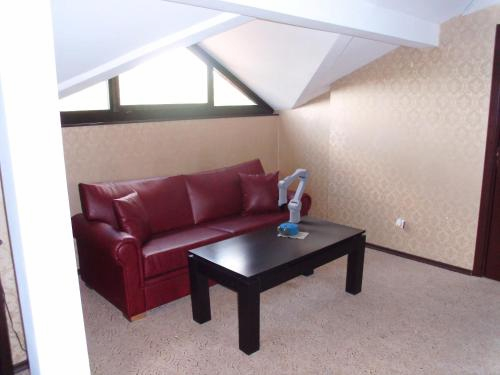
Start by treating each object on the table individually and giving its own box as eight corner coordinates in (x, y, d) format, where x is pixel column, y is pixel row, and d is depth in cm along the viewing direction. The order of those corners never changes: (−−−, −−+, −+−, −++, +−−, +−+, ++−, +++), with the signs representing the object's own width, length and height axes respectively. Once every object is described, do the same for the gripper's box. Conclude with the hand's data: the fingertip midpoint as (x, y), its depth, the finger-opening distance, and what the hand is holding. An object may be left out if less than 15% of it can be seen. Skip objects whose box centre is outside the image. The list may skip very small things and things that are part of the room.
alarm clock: (289, 229, 314) (274, 233, 304) (289, 221, 312) (274, 225, 303) (301, 233, 304) (287, 237, 294) (301, 225, 302) (287, 229, 293)
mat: (283, 230, 312) (283, 230, 312) (309, 233, 304) (309, 233, 303) (277, 236, 299) (277, 235, 299) (303, 239, 291) (303, 238, 291)
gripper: (281, 193, 328) (281, 210, 330) (274, 197, 315) (274, 214, 317) (289, 194, 325) (289, 211, 328) (283, 198, 312) (283, 215, 315)
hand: (282, 212), depth 322 cm, fingers closed
